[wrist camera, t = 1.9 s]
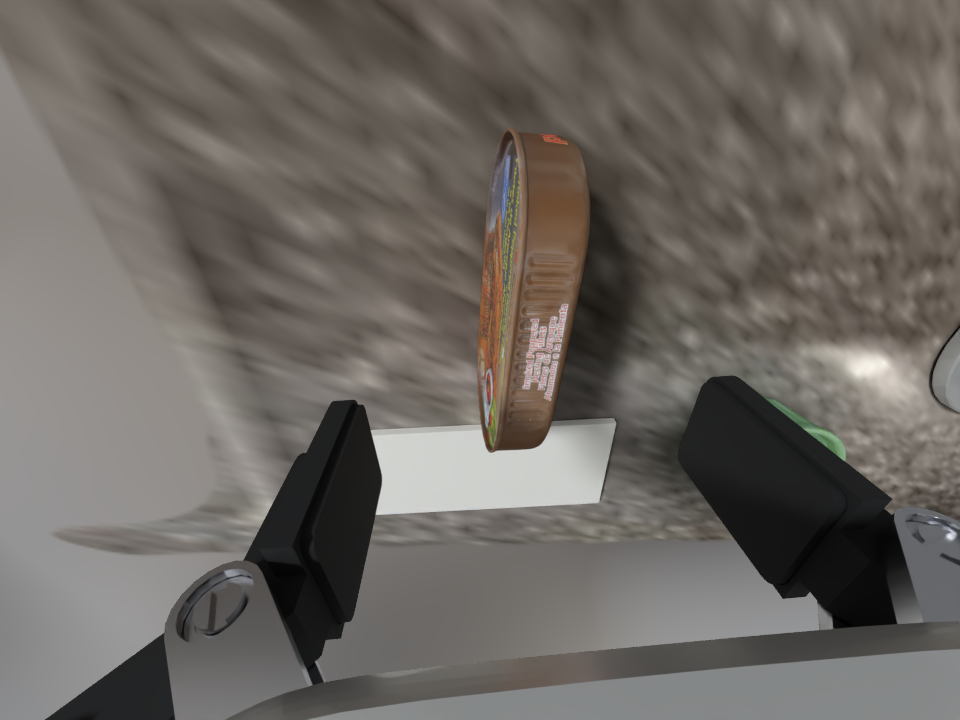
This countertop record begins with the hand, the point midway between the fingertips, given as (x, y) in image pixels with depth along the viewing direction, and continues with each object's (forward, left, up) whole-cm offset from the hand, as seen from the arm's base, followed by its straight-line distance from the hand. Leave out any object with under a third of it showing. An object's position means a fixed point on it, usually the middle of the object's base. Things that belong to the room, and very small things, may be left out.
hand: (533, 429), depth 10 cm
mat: (+1, +15, -12) cm, 20 cm away
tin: (-1, 0, -13) cm, 13 cm away
